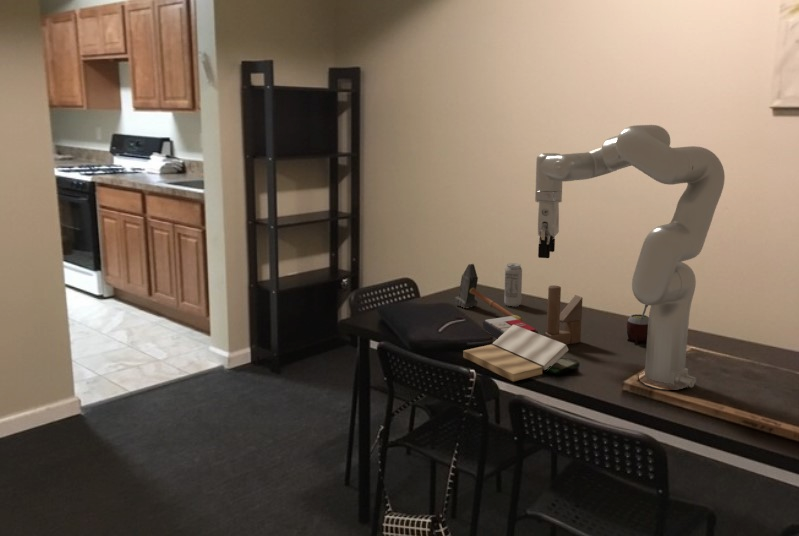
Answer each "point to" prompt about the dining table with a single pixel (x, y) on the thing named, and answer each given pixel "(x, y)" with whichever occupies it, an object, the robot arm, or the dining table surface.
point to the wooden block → (563, 317)
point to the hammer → (475, 293)
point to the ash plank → (531, 346)
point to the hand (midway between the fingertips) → (546, 254)
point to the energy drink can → (513, 284)
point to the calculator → (504, 325)
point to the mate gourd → (638, 328)
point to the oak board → (502, 362)
